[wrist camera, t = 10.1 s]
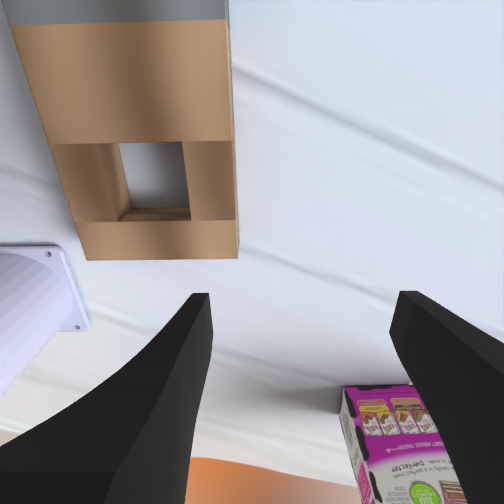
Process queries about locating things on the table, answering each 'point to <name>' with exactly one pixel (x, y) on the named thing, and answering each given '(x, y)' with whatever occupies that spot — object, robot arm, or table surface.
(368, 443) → the candy bar box
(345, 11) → the table surface
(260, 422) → the table surface
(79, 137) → the dock board
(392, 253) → the table surface
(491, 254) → the table surface
